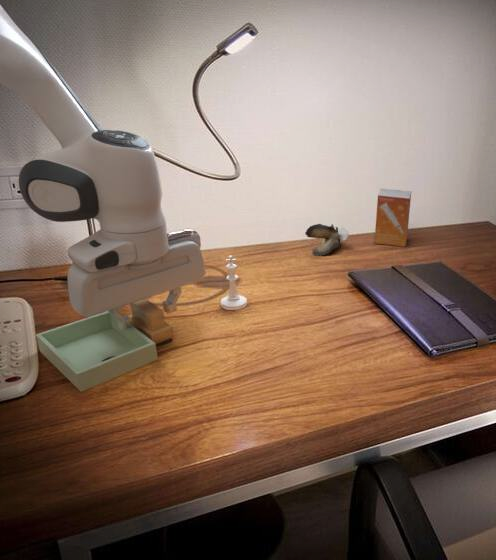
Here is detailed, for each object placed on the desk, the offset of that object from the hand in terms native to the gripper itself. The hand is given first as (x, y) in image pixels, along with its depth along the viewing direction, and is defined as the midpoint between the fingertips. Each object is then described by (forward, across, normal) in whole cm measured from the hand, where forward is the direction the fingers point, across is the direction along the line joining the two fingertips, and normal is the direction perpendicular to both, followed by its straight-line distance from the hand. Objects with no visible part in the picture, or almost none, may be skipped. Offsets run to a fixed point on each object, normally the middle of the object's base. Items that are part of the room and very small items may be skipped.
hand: (148, 319), depth 86 cm
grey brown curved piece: (+4, -49, -9) cm, 50 cm away
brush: (+4, 0, 0) cm, 4 cm away
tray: (+4, +8, 0) cm, 9 cm away
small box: (+4, -65, -2) cm, 65 cm away
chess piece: (+4, -17, -1) cm, 17 cm away
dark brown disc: (+3, +8, +4) cm, 10 cm away
